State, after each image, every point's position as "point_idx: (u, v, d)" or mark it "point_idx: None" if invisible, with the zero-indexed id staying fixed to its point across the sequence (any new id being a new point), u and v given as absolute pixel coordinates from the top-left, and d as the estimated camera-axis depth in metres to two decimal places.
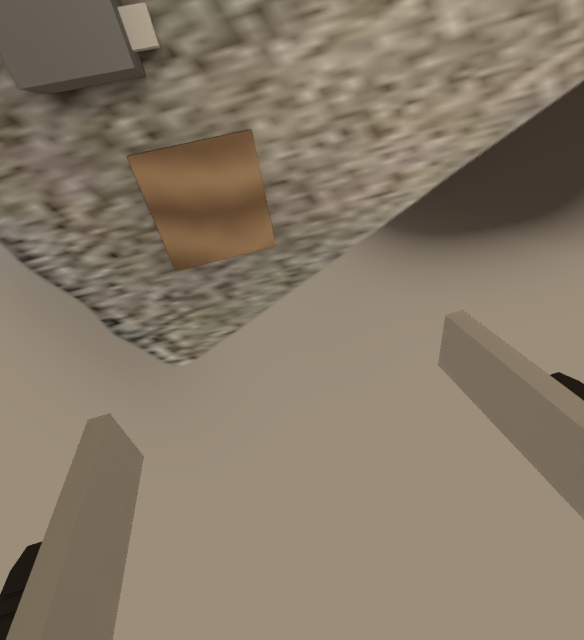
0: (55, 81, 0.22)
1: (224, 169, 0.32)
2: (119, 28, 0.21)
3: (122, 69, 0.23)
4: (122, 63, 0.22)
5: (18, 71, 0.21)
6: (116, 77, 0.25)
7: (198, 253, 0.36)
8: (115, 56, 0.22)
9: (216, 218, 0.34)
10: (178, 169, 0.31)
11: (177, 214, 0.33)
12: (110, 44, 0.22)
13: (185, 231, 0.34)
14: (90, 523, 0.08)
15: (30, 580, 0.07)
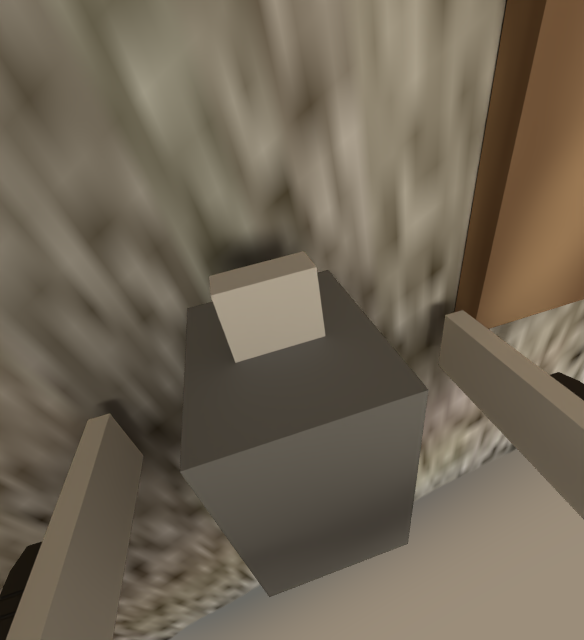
0: (410, 511, 0.09)
1: None
2: (327, 423, 0.06)
3: None
4: (410, 416, 0.07)
5: (384, 546, 0.10)
6: None
7: None
8: (391, 431, 0.07)
9: None
10: (544, 225, 0.11)
11: None
12: (363, 440, 0.07)
13: None
14: (91, 524, 0.08)
15: (30, 580, 0.07)
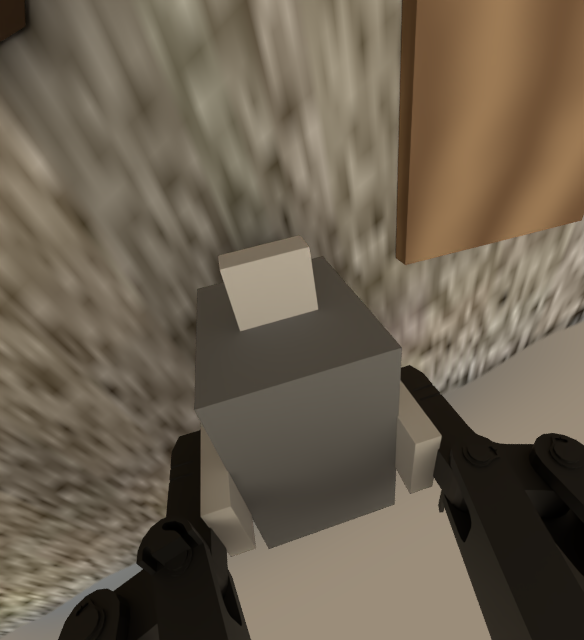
0: (394, 470, 0.11)
1: (469, 85, 0.14)
2: (316, 374, 0.07)
3: None
4: (388, 372, 0.08)
5: (372, 505, 0.12)
6: None
7: (579, 172, 0.18)
8: (372, 385, 0.08)
9: (545, 120, 0.16)
10: (442, 187, 0.17)
11: (504, 200, 0.18)
12: (348, 392, 0.08)
13: (534, 192, 0.18)
14: None
15: (202, 448, 0.09)
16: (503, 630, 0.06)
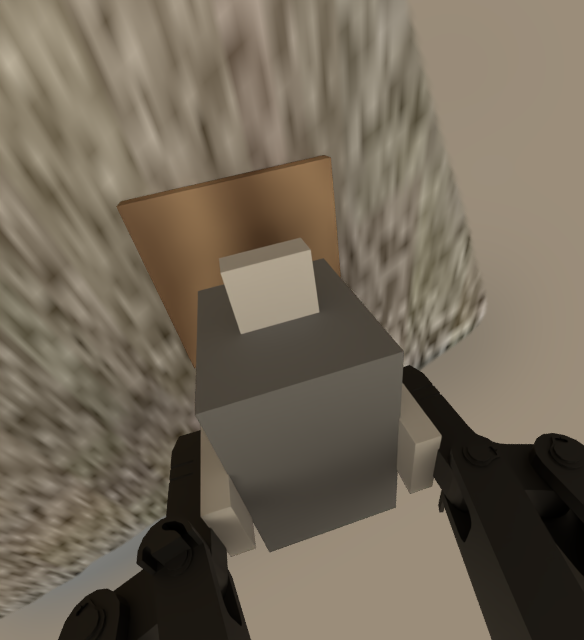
0: (395, 473, 0.11)
1: (192, 255, 0.19)
2: (318, 378, 0.07)
3: None
4: (389, 376, 0.08)
5: (373, 508, 0.12)
6: None
7: None
8: (373, 389, 0.08)
9: None
10: None
11: None
12: (349, 397, 0.08)
13: None
14: None
15: (202, 448, 0.09)
16: (503, 630, 0.06)
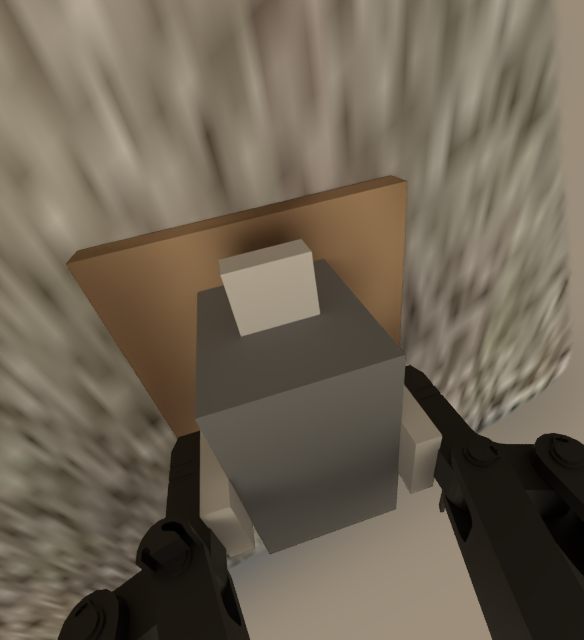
0: (396, 475, 0.10)
1: (190, 327, 0.12)
2: (319, 381, 0.07)
3: None
4: (391, 379, 0.08)
5: (374, 510, 0.12)
6: None
7: None
8: (375, 392, 0.08)
9: None
10: None
11: None
12: (351, 400, 0.08)
13: None
14: None
15: (202, 448, 0.09)
16: (504, 630, 0.06)
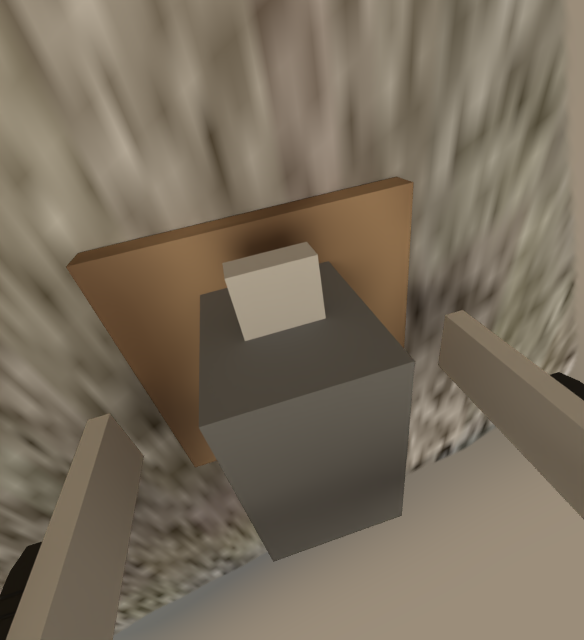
0: (402, 482, 0.10)
1: (192, 330, 0.12)
2: (325, 388, 0.07)
3: None
4: (399, 386, 0.08)
5: (379, 517, 0.11)
6: None
7: None
8: (383, 399, 0.08)
9: None
10: None
11: None
12: (358, 407, 0.08)
13: None
14: (90, 523, 0.08)
15: (30, 580, 0.07)
16: None
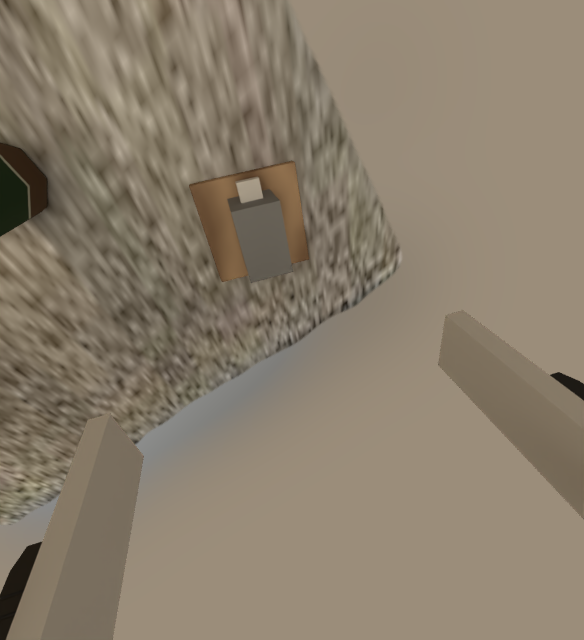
0: (288, 251, 0.34)
1: (224, 212, 0.36)
2: (259, 206, 0.31)
3: (280, 209, 0.32)
4: (277, 208, 0.32)
5: (284, 269, 0.35)
6: None
7: (295, 239, 0.40)
8: (274, 212, 0.32)
9: None
10: (227, 249, 0.39)
11: None
12: (268, 213, 0.32)
13: None
14: (91, 523, 0.08)
15: (30, 580, 0.07)
16: None
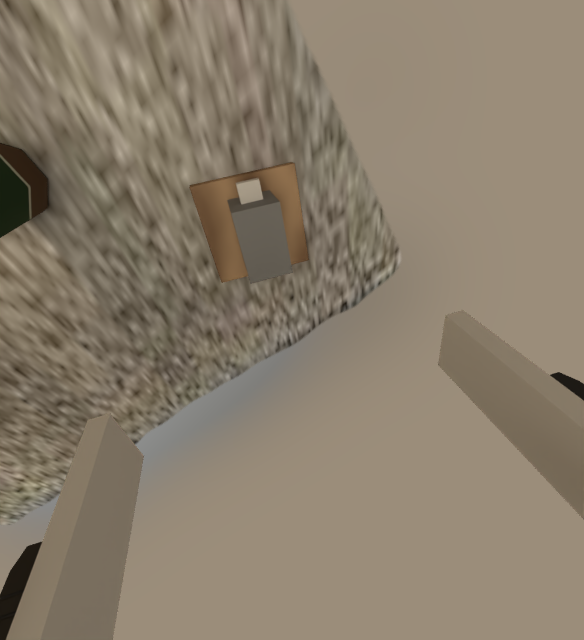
0: (288, 252, 0.35)
1: (224, 213, 0.36)
2: (259, 207, 0.31)
3: (280, 210, 0.32)
4: (277, 209, 0.32)
5: (284, 270, 0.36)
6: None
7: (295, 240, 0.40)
8: (274, 213, 0.32)
9: None
10: (227, 250, 0.39)
11: None
12: (268, 214, 0.32)
13: None
14: (91, 523, 0.08)
15: (30, 580, 0.07)
16: None
